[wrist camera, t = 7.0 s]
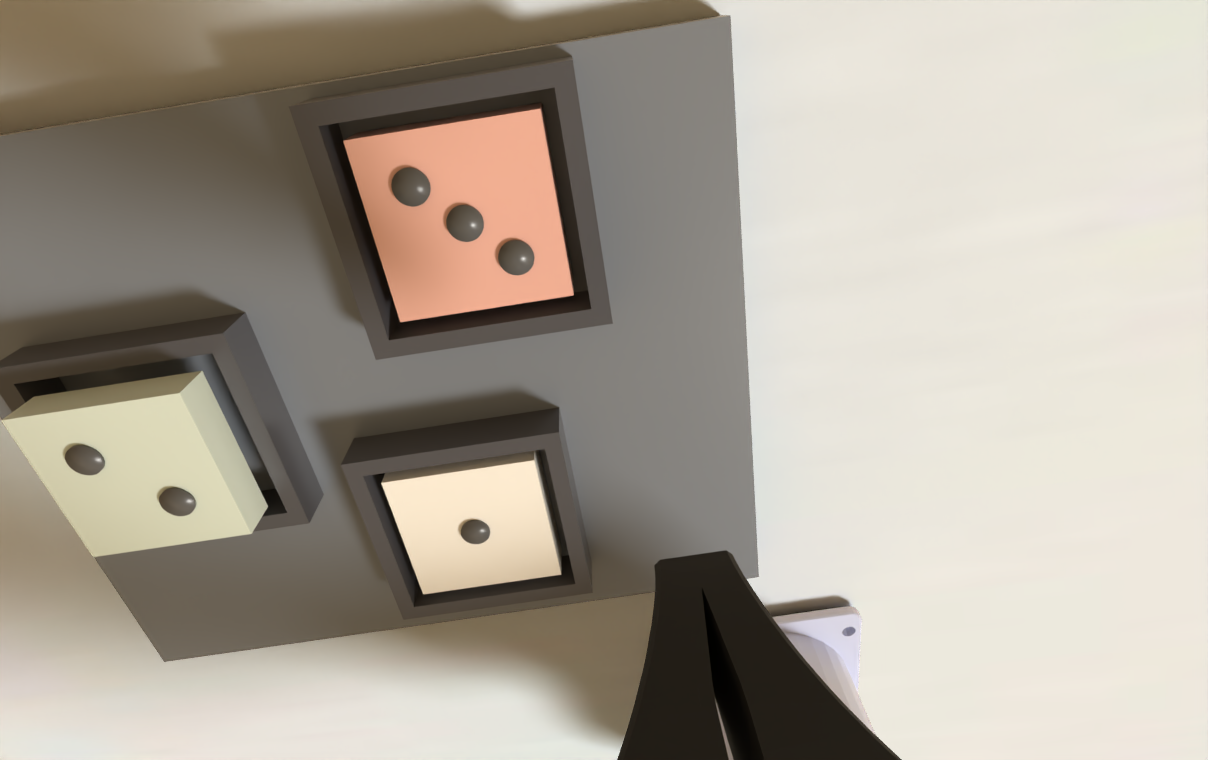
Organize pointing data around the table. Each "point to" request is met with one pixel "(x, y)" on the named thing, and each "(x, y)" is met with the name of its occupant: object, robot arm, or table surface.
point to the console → (402, 330)
